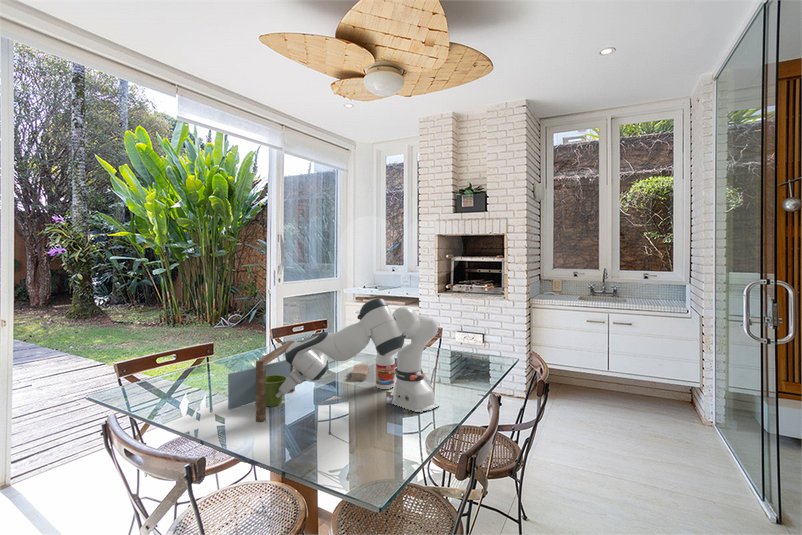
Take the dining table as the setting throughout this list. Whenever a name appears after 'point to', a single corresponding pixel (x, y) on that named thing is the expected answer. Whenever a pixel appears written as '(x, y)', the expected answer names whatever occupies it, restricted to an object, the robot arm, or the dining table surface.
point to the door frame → (262, 380)
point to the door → (250, 383)
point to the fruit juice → (385, 371)
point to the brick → (360, 372)
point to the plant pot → (273, 389)
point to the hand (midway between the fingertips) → (281, 392)
